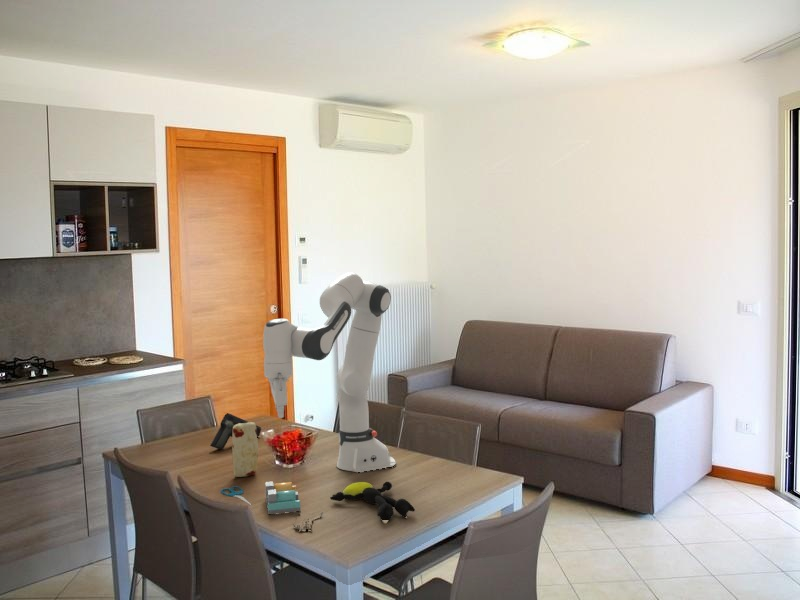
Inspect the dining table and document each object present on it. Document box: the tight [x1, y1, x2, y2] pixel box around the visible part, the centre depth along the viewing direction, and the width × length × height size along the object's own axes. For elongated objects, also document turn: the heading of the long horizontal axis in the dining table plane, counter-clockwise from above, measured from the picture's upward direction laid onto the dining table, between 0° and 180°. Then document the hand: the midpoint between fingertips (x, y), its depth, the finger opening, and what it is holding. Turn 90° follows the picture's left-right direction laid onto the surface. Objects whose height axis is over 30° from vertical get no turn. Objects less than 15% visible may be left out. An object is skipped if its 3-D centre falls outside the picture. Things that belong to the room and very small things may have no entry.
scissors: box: [220, 486, 252, 506], centre depth 239 cm, size 7×1×20 cm
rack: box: [265, 485, 301, 515], centre depth 231 cm, size 10×15×4 cm, turn 14°
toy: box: [330, 481, 416, 521], centre depth 229 cm, size 23×6×30 cm
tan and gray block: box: [264, 481, 293, 501], centre depth 235 cm, size 8×4×5 cm, turn 103°
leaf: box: [292, 512, 324, 533], centre depth 216 cm, size 11×15×2 cm
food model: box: [231, 421, 259, 478], centre depth 261 cm, size 10×7×20 cm
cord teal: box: [268, 489, 296, 503], centre depth 227 cm, size 8×4×5 cm, turn 103°
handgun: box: [209, 412, 262, 450], centre depth 305 cm, size 2×24×15 cm, turn 148°
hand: (279, 413), depth 225 cm, fingers open, 8 cm apart
